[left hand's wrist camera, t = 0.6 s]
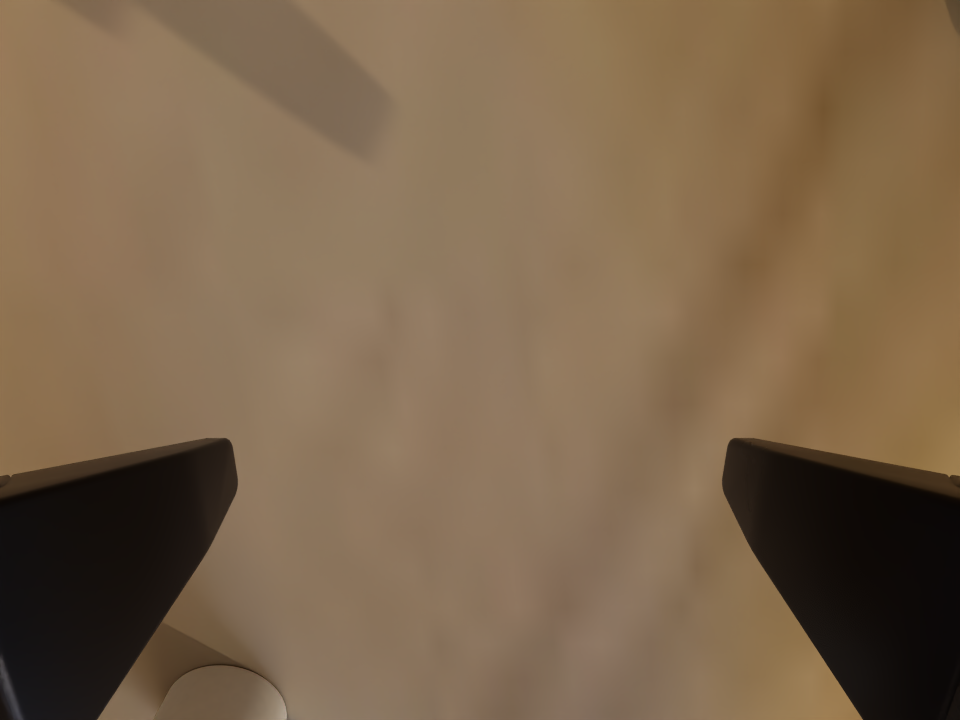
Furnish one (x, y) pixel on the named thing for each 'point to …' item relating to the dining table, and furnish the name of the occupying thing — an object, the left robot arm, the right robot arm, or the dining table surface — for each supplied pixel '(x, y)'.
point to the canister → (222, 696)
